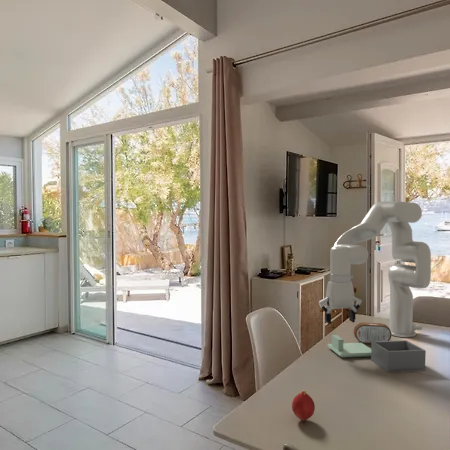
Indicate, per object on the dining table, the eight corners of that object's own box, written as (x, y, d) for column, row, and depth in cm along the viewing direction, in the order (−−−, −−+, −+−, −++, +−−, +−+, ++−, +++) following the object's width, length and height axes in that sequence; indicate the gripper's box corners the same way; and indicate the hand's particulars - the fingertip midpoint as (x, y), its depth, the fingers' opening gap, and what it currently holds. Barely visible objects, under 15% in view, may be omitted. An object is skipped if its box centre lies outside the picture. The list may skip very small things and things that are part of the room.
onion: (289, 415, 104) (289, 385, 104) (310, 414, 104) (311, 385, 104) (295, 427, 98) (295, 395, 98) (317, 426, 98) (318, 395, 98)
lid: (361, 347, 159) (361, 331, 159) (376, 358, 148) (376, 340, 148) (327, 349, 157) (328, 332, 157) (340, 359, 145) (340, 342, 145)
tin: (389, 342, 165) (390, 323, 165) (392, 345, 162) (392, 325, 162) (353, 341, 167) (353, 321, 166) (354, 343, 163) (355, 323, 163)
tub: (405, 358, 146) (406, 340, 146) (425, 370, 136) (425, 350, 135) (371, 360, 144) (371, 341, 144) (387, 372, 133) (388, 352, 133)
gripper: (356, 275, 156) (356, 318, 156) (315, 277, 153) (315, 320, 154) (366, 279, 148) (366, 323, 149) (322, 281, 146) (323, 326, 146)
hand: (340, 322), depth 151 cm, fingers open, 9 cm apart
